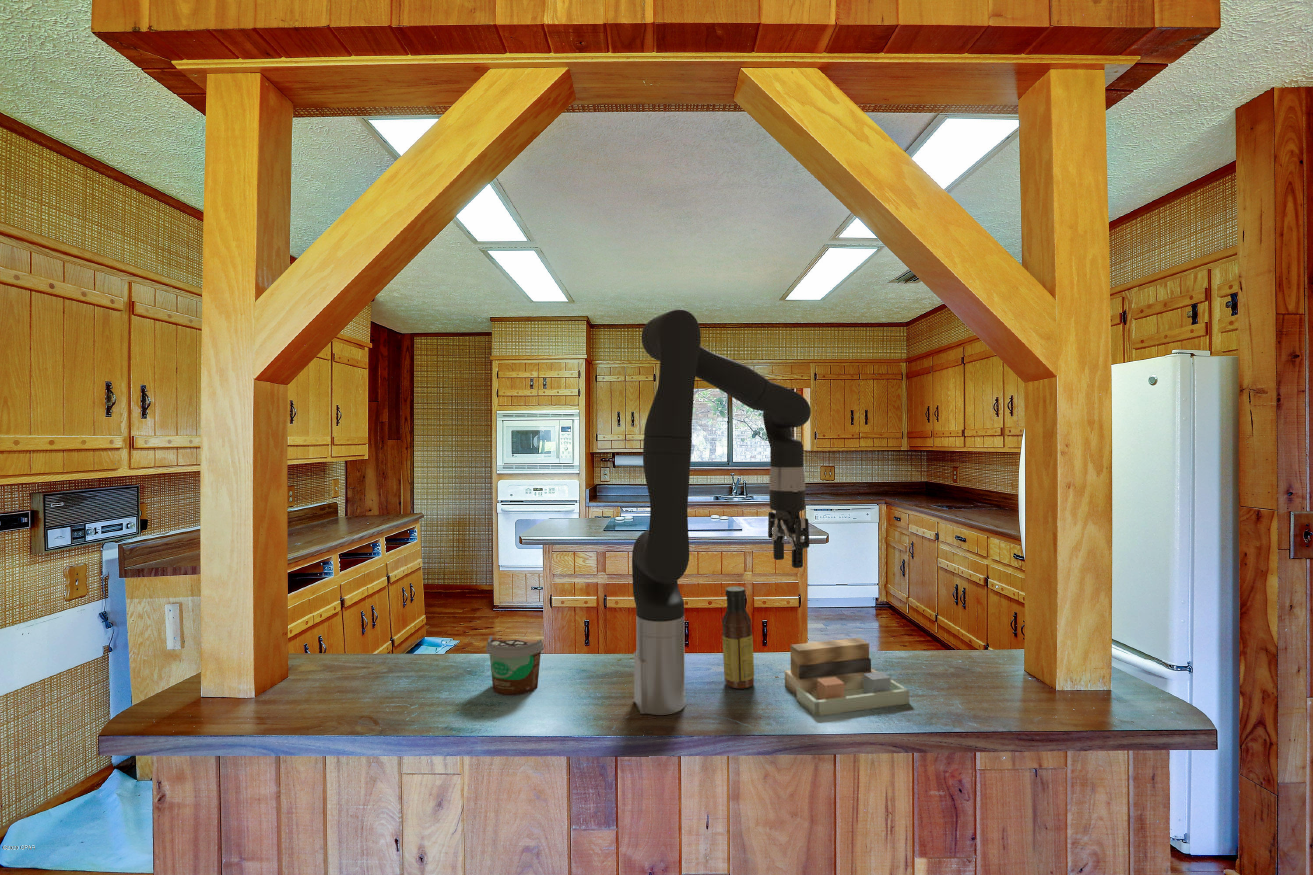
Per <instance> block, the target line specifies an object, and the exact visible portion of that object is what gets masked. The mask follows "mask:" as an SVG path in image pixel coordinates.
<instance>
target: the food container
mask: <svg viewBox="0 0 1313 875" xmlns="http://www.w3.org/2000/svg"><path fill="white" fill-rule="evenodd" d="M542 640H543V639H542V638H540V639H539V640H537V641H535V642H527V641H524V640H519V639H509V640H501V639H498V640H497V639H494V638H493V635H490V636H489V638H488V640H487V642H486V648H485V652H486V653H487V654H488V655H489V659H490V660H489V662H490V670H491V671H490V672H491V681H492V690H493V692H494V693H496V694H497V695H501V696H508V697H509V696H510V697H513V696H521V694H522V695H525V693H526V694H528V692H529V693H531V692H533V691H535V690H536V689H538V688H537V687H538V686H539V678H540V677H539V676H540V666H541V665H540V663H541V654H542V651H544V650H545V648H544V647H545V646H544V642H543V641H542ZM534 689H535V690H534Z"/></svg>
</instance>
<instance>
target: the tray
mask: <svg viewBox="0 0 1313 875" xmlns="http://www.w3.org/2000/svg"><path fill="white" fill-rule="evenodd" d="M796 701H797V702H798V703H800V705H801V706H802V707H804V708H805V709H806V710H807V711H808V712H810V713H811V714H812V715H813V717H820V716H826V715H827V716H828V715H836V714H841V713H850V712H857V711H863V710H865V711H866V710H870V709H871V710H872V709H878V708H879V709H880V708H885V707H893V706H901V705H907V704H908V705H909V704H910V690H909V689H908V688H906V687H904V686H903V685H901V684H900V683H898V682H896V681H895V680H893V679H891V691H884V692H876V693H869V694H863V689H856V690H848V691H844V697H838V698H830V699H823V700H817V694H816V695H810V694H809V693H807V692H806V691H805V690H804V689H803V688H801V687H797V695H796Z"/></svg>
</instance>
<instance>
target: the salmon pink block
mask: <svg viewBox="0 0 1313 875" xmlns="http://www.w3.org/2000/svg"><path fill="white" fill-rule="evenodd" d="M838 697H844V683H843V682H842V681H840V680H839V679H838V678H836V677H831V678H823V679H817V700H823V699H830V698H838Z"/></svg>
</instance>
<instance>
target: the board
mask: <svg viewBox="0 0 1313 875" xmlns="http://www.w3.org/2000/svg"><path fill="white" fill-rule="evenodd" d="M874 672H878V671H877V670H876V669H874V668H872V667H871V671H868V672H860V673H851V674H843V675H834V676H826V677H818V678H809V679H801V680H800V679H799V678H798V677H797V676H795V675H794V674H793V673H792V672H791V669H787V670H784V686H785V687H786V688H787V689H788V690H790V691H791V692H792V693H793V694H794V695H796V696H797V687H801V688H803V689H804V690H805V691H806V692H807V693H809V694H810V695H816V694H817V679H823V678H831V677H836V678H838V679H839V680H840V681H842V682H843V683H844V691H848V690H856V689H863V674H866V673H874Z"/></svg>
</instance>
